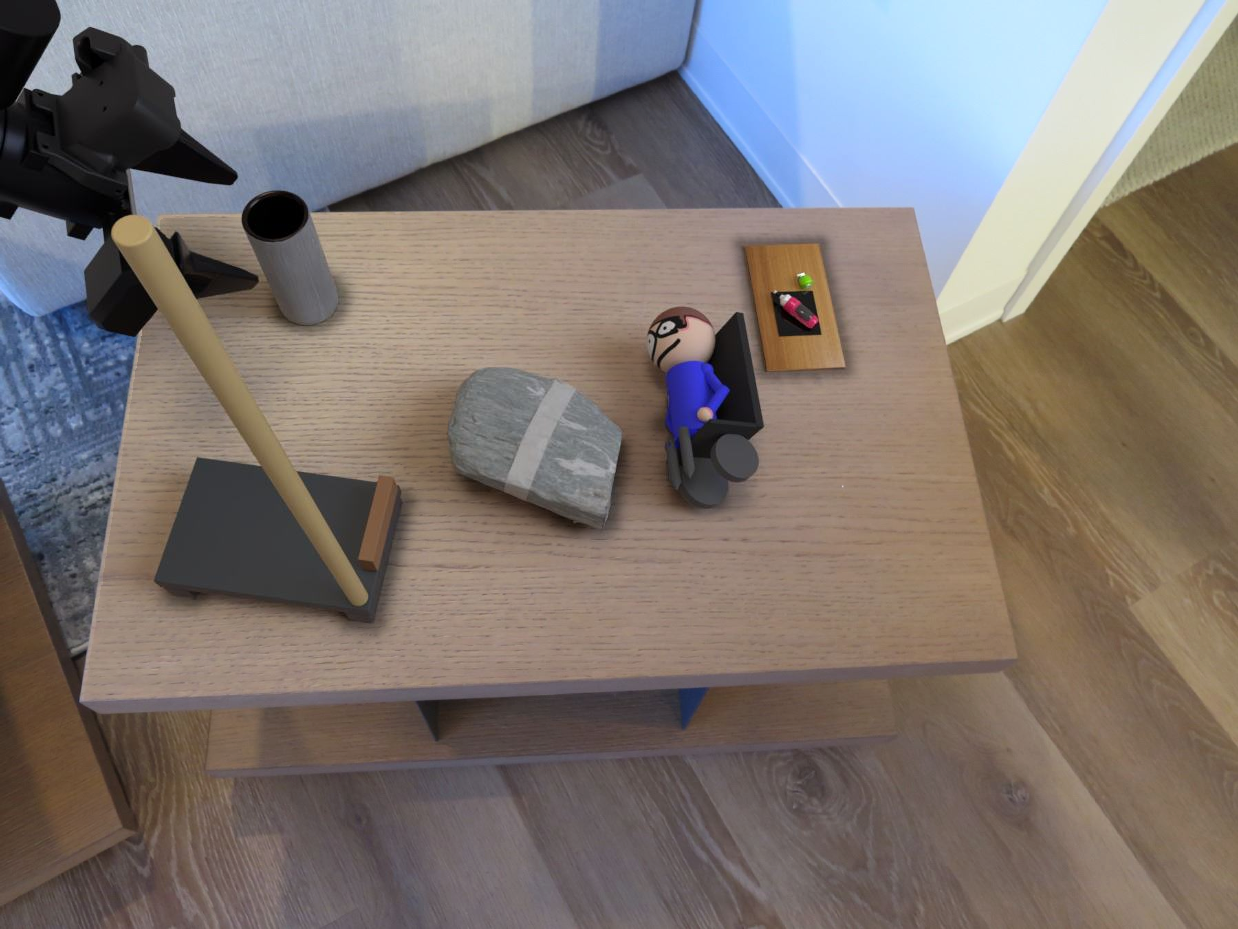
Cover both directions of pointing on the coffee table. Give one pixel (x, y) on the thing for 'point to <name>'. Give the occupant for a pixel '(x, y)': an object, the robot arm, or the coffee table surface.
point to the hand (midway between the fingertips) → (245, 229)
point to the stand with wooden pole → (260, 485)
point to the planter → (291, 256)
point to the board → (794, 308)
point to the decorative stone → (535, 442)
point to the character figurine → (707, 402)
